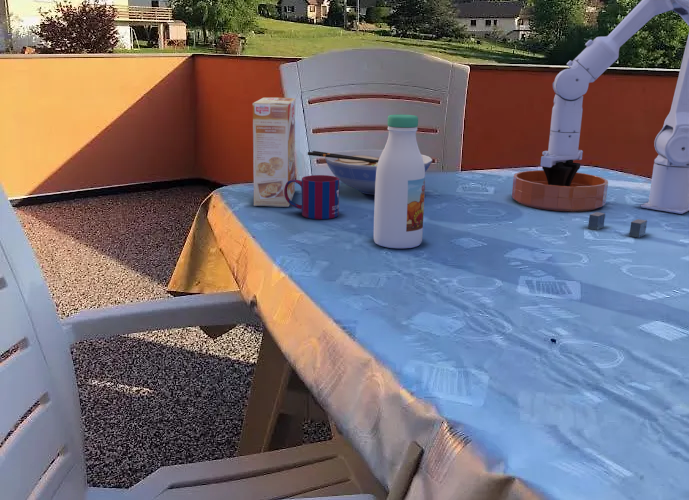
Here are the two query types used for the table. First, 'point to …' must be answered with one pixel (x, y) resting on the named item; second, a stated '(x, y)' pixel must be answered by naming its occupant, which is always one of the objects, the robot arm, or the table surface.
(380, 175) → the milk bottle
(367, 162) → the ramen bowl
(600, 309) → the table surface
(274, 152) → the coffeecake box
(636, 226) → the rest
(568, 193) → the bowl
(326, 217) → the mug
